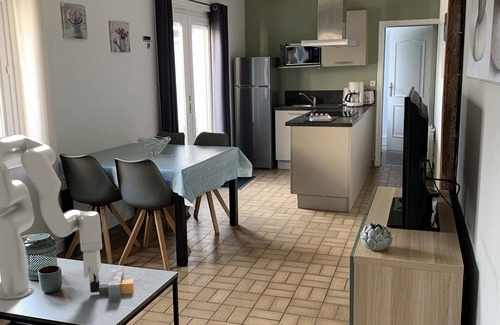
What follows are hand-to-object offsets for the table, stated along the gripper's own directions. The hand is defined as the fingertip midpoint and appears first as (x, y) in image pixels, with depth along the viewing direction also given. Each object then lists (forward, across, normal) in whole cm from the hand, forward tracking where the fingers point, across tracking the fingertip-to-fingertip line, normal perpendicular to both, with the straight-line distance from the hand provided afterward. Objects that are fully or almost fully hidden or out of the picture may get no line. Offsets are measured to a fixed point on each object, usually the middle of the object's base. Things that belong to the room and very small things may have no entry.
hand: (95, 291), depth 188 cm
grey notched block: (+1, 0, +8) cm, 8 cm away
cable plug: (+1, 0, +8) cm, 8 cm away
